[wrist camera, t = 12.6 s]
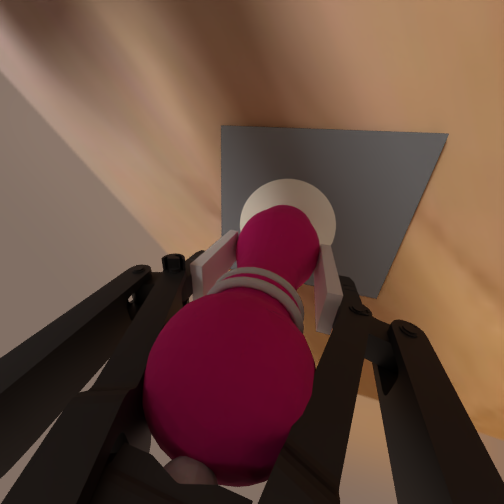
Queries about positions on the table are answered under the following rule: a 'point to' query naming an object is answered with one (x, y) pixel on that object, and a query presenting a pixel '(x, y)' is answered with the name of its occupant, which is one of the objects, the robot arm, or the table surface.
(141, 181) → the table surface
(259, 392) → the pepper mill
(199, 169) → the table surface
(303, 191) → the mat
